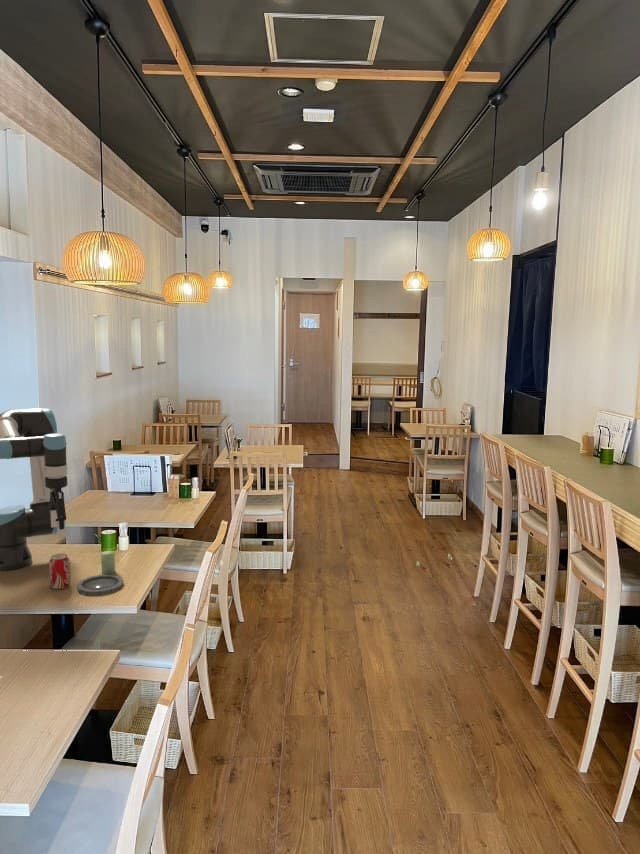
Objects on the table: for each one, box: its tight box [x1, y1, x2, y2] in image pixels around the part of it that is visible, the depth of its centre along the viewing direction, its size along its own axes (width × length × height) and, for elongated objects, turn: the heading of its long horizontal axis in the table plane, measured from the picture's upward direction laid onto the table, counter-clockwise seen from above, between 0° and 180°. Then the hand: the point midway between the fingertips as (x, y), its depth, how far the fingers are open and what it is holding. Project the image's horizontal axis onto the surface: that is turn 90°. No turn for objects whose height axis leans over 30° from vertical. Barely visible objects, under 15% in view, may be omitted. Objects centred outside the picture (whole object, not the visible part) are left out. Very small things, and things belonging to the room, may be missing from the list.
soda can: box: [48, 553, 71, 590], centre depth 228 cm, size 7×7×12 cm
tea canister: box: [100, 550, 116, 575], centre depth 244 cm, size 5×5×8 cm
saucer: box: [76, 574, 124, 596], centre depth 230 cm, size 16×16×1 cm
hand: (58, 532), depth 226 cm, fingers open, 13 cm apart
